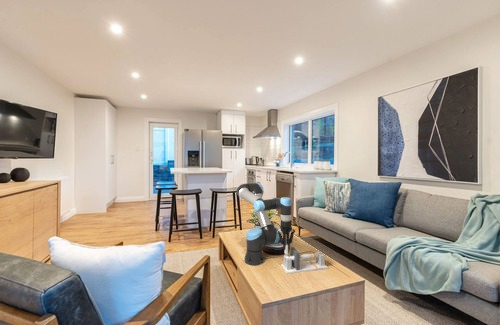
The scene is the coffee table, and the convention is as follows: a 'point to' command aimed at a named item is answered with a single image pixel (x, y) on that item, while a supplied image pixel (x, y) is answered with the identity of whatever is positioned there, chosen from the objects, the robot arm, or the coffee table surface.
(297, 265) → the collar
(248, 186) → the robot arm
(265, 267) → the coffee table surface
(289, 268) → the pipe stand
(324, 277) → the coffee table surface
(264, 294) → the coffee table surface
